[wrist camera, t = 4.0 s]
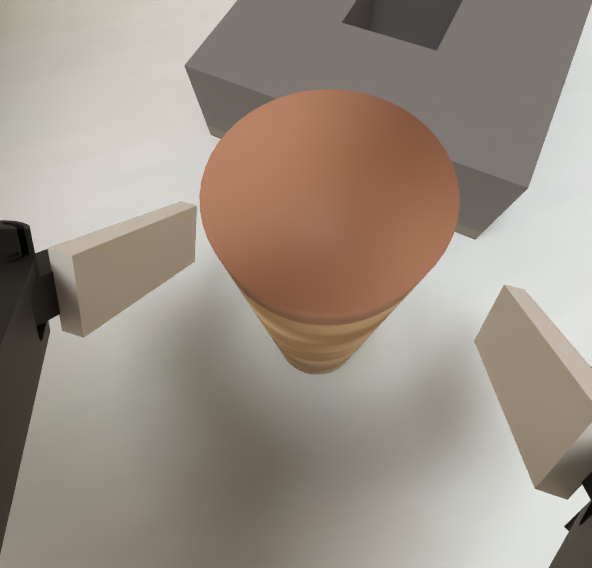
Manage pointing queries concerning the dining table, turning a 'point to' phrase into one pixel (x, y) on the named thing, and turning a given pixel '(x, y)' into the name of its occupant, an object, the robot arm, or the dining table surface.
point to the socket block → (408, 75)
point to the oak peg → (328, 216)
